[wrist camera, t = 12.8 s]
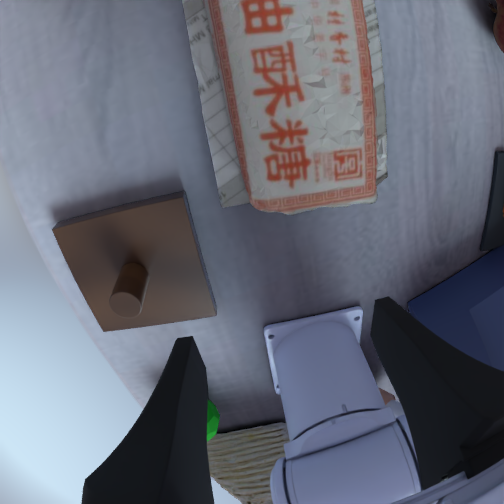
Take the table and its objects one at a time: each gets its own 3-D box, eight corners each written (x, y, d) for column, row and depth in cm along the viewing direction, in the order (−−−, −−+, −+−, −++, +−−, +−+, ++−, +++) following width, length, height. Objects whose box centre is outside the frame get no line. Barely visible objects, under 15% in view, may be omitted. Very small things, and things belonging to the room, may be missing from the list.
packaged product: (416, 209, 15) (222, 242, 15) (377, 177, 19) (221, 201, 19) (376, -118, 6) (156, -117, 6) (343, -87, 10) (170, -79, 10)
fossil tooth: (187, 424, 34) (314, 408, 32) (206, 445, 37) (320, 432, 35) (176, 509, 24) (326, 502, 22) (199, 521, 27) (330, 513, 25)
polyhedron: (195, 416, 31) (195, 454, 27) (158, 398, 29) (155, 439, 25) (229, 399, 30) (232, 440, 26) (191, 379, 27) (190, 423, 23)
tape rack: (216, 306, 23) (217, 347, 20) (106, 323, 23) (94, 361, 20) (184, 190, 18) (177, 220, 15) (57, 222, 18) (31, 254, 15)
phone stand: (507, 240, 23) (588, 321, 13) (500, 316, 29) (553, 388, 19) (407, 302, 25) (476, 415, 15) (419, 368, 31) (462, 454, 21)
